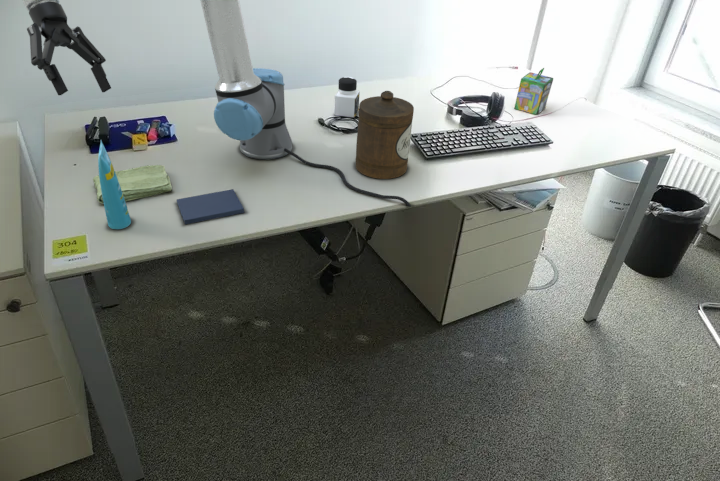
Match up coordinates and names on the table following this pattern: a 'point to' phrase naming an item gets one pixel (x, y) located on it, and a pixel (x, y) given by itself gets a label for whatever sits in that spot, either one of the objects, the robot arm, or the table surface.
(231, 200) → the notebook
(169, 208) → the table surface
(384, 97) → the wooden container
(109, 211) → the tube
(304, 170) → the table surface
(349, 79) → the medicine bottle
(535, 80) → the chalk box
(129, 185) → the washcloth
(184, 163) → the table surface
